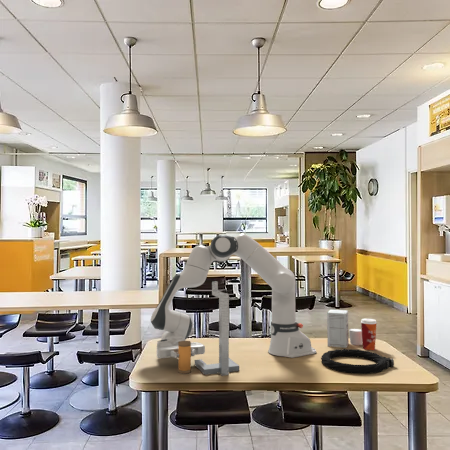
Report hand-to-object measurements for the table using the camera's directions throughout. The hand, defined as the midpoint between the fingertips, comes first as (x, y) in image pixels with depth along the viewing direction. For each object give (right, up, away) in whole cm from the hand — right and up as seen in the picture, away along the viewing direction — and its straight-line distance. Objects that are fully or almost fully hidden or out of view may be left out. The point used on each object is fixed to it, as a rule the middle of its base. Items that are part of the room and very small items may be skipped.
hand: (185, 355), depth 183 cm
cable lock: (+72, -8, +11) cm, 74 cm away
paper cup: (+86, -8, +37) cm, 93 cm away
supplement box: (+72, -8, +43) cm, 85 cm away
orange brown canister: (0, -7, +1) cm, 7 cm away
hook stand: (+14, -7, +3) cm, 16 cm away
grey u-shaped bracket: (+12, -7, +7) cm, 16 cm away
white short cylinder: (+82, -8, +46) cm, 94 cm away
